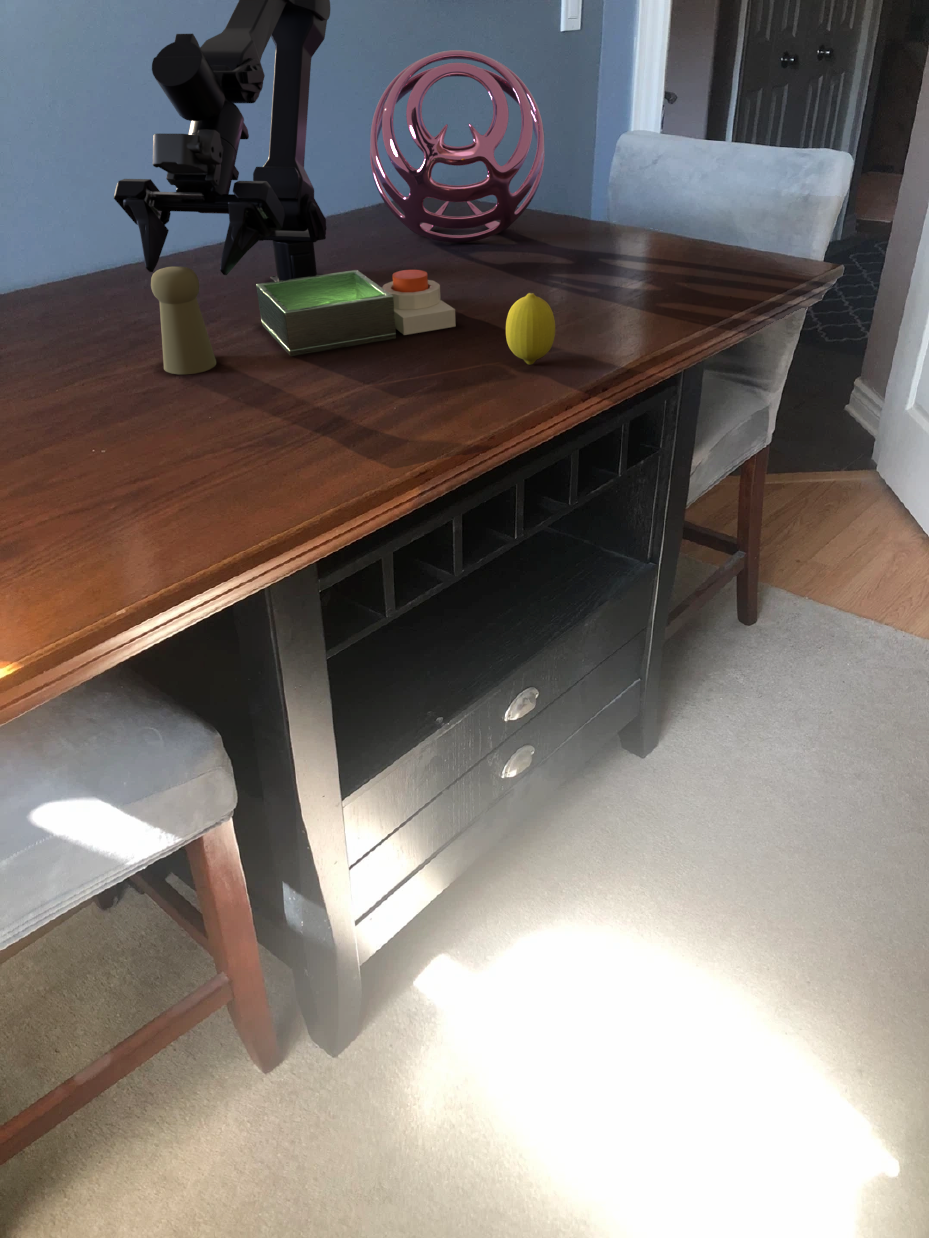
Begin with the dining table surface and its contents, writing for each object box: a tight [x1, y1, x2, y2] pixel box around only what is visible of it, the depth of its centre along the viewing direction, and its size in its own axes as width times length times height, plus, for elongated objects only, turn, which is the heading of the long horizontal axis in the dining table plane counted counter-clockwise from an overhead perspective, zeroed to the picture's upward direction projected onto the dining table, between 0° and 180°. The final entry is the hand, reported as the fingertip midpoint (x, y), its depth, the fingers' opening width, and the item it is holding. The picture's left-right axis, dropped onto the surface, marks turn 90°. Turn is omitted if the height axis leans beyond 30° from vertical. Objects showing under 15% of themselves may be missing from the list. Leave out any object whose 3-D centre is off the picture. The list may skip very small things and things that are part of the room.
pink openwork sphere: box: [369, 49, 546, 244], centre depth 157 cm, size 28×28×27 cm
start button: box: [392, 269, 429, 292], centre depth 125 cm, size 4×4×2 cm
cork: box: [150, 265, 217, 375], centre depth 112 cm, size 6×6×11 cm
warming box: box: [255, 269, 397, 357], centre depth 123 cm, size 13×13×5 cm
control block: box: [381, 279, 456, 336], centre depth 127 cm, size 12×7×4 cm, turn 24°
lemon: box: [505, 292, 556, 365], centre depth 110 cm, size 6×6×8 cm
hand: (185, 271), depth 112 cm, fingers open, 9 cm apart
